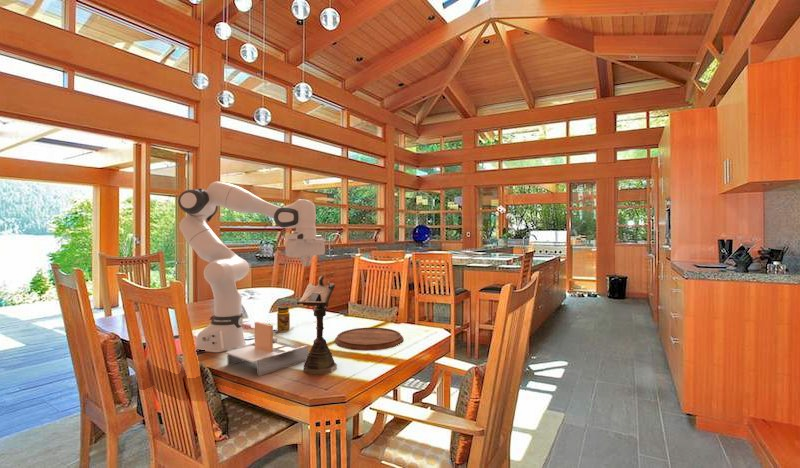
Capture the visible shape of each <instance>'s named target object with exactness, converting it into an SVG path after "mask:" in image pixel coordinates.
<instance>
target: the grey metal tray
mask: <svg viewBox="0 0 800 468" xmlns="http://www.w3.org/2000/svg"><path fill="white" fill-rule="evenodd" d="M251 345H252V346H255V342H252V343H248V344H246V345H244V346H240V347H237V348H233V349H229V350H226V352H228V351H232V350H236V349H240V348H244V347H247V346H251ZM273 352H276V353H278V354H275V355H271V356H268V357H265V358H261V359H258V360H257V362H256V363H257V367H256V368H257V370H256V371H257V372H256V373H257V376H258V377H261V376H264V375H266V374H269V373H272V372H275V371H276V372H277V371H279V370H281V369H284V368H287V367H291V366H293V365H296V364H299V363H302V362H306V360H307V356H308V353H309V346H308V345H307V344H305V345H302V346H295V345H292V344H288V343H285V342H280V341H278V337H273ZM226 357H227V361H226V364H227V365H228V366H230V365H233V364H237V363H241V362H244V361H245V360H243V359H240V358H237V357H234V356H231V355H228V354H226Z"/></svg>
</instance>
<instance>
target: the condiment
mask: <svg viewBox="0 0 800 468" xmlns="http://www.w3.org/2000/svg"><path fill="white" fill-rule="evenodd" d="M276 314H277V319H276V321H277V322H276V324H277V327H276V329H278V331H275V332H277V333H287V332H290V331H292V330H293V328H291V326H290V325H291V322H290V321H291V320H290V319H291V318H290V314H291V313H290V310H289V306H286V305H283V306H278V308H277V313H276Z"/></svg>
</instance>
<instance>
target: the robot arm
mask: <svg viewBox="0 0 800 468" xmlns="http://www.w3.org/2000/svg"><path fill="white" fill-rule="evenodd" d="M177 203H178V206H179V209H181V210H182V211H183V212H184V213H186V215H185V217H183V218H182V219H181V220H180V222H179V224H178V226H179V231H180V233H181V234H182V236H183V237H184V239H185V240H186V242H187V243H188V245H189V246H190V247H191V248H192V249H193V251H194V252H195V253H196V255H197V256H198V257H199V258H200V260H203V261H205V262H207V263H208V264H207V265H206V266H205V267H204V269H203V277H204V280H205V281H206V282H207V283H208V284H209V285H210V288H211V291H212V294H213V295H212V296H213V302H214V305H213V307H214V309H213V311H214V314H213V315H211V317H209V318H208V321H210V324H209V325H207V326H206V327H205V328H203V329H202V330H201V331H199V332H198V334H197V335H196V336H197V337H196V340H195V342H194V344H196V350H195V351H198V350H197V349H201V350H205V351H204V352H209V353H221V352H225V351H226V352H227V350H229V349H233V348H237V347H240V346H244V345H247V343H246V340H245V336H244V333H243V332H244V331H243V330H244V329H243V325H244V317H243V314H244V313H243V310H242V307H243V306H242V295H241V293H240V292H239V291H238V288H237V284H236V282H239V281H241V280H242V279H244V278H245V277H246V276H248V274H249V272H250V265H249V262H248V261H247V260H246V259H244V258H242V257H241V256H239V255H237V254H236V253H235V252H234V251H233V250H232V249H230V248H229V247H228V246H226V244H225V243H224V242H223V241H221V239H220V238H219V237H218V236H217V234H216V233H215V232H214V231H213V229H212V228H211V227H210V226H209V224H208V222H211V220H212V218H213V217H214V216H215V215H216V214H217V213H218V209H219V207H223V208H224V209H227V210H230V211H234V212H238V213H245V214H247V213H248V214H259V215H263V216H266V217H268V218H272V219H273V221H274V223H275V224H276V225H277V226H278V227H280V228H282V229H291V230H295V231H293V232H291V233H288V234H287V235H286V236H285V237H286V242H285V248H284V249H285V256H286V257H288V258H296V257H297V258H300V261H301V263H302V267H310V266H311V262H312V259H313V256H322V255H323V256H324V255H325V254H326V247H325V246H326V245H325V238H324V237H323V236H322V235H321V234H319V235H317V227H316V219H317V212H316V211H317V210H316V206H315V203H314V202H313V201H311V200H307V199H301V198H299V199H297V200H295V202H292V203H290V204H288V205H285V206H280V205H276V204H273V203H271V202H268V201H266V200H264V199H262V198H261V197H259V196H257V195H255V194H253V193H252V192H250V191H248V190H246V189H244V188H242V187H240V186H238V185H235V184H232V183H228V182H223V181H218V180H217V181H214V182H211V183H210V184H209V186H208V187H207V188H206V190H205V189H204V188H195V189H188V190H183V191H182V193H180V195H179V196H178V199H177Z"/></svg>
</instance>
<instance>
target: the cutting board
mask: <svg viewBox="0 0 800 468" xmlns="http://www.w3.org/2000/svg"><path fill="white" fill-rule="evenodd" d="M403 342H404V336H403V335H402V334H401V333H400V332H399V331H397V330H395V329H391V328H385V327H360V328H359V327H358V328H352V329H347V330H344V331H341V332H340V333H338V334H337V335H336V337H335V339H334V343H336V344H337V346H338V347H340V348H344V349H348V350H353V351H356V350H357V351H376V350H377V351H378V350H379V351H380V350H387V349H391V348H394V347H397V346H399V345H401V344H402V343H403ZM400 343H401V344H400ZM336 344H335V345H336ZM398 344H399V345H398ZM396 345H397V346H396ZM390 347H391V348H390Z"/></svg>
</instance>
